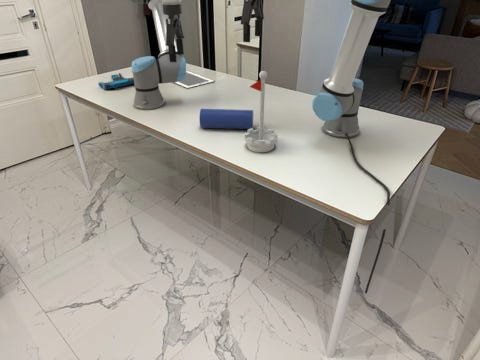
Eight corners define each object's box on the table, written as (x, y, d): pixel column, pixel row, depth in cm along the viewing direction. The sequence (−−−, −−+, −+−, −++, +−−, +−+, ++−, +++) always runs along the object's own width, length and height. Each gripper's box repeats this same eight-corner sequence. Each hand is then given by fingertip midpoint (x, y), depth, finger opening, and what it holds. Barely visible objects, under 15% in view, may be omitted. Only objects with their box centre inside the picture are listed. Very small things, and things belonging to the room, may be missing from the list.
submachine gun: (142, 67, 226) (160, 73, 209) (143, 73, 228) (161, 80, 211) (90, 77, 207) (106, 85, 191) (92, 83, 209) (108, 91, 193)
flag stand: (268, 136, 145) (271, 64, 128) (282, 150, 134) (288, 73, 118) (239, 141, 141) (239, 68, 124) (252, 155, 130) (253, 77, 114)
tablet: (159, 76, 219) (159, 75, 219) (186, 70, 230) (186, 70, 230) (187, 88, 199) (187, 87, 198) (214, 81, 210) (214, 80, 210)
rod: (253, 124, 156) (253, 107, 151) (252, 132, 148) (252, 114, 144) (203, 123, 157) (202, 105, 153) (200, 130, 150) (198, 112, 145)
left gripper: (170, 0, 147) (175, 51, 159) (153, 7, 126) (160, 65, 138) (187, 0, 147) (191, 51, 158) (173, 7, 126) (178, 65, 137)
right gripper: (255, -22, 142) (254, 33, 153) (231, -19, 122) (232, 44, 134) (272, -21, 139) (270, 34, 151) (251, -18, 120) (250, 45, 131)
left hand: (177, 58), depth 148 cm, fingers open, 13 cm apart
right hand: (252, 39), depth 142 cm, fingers open, 13 cm apart
